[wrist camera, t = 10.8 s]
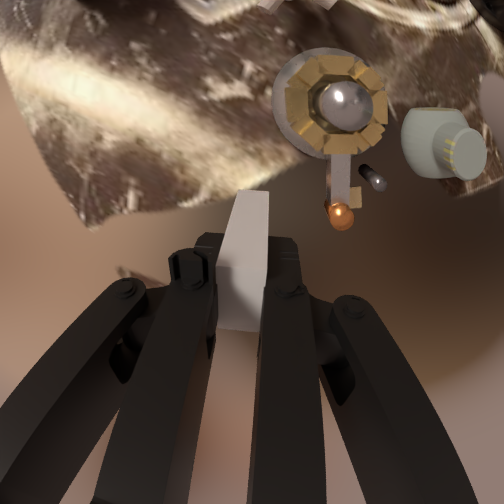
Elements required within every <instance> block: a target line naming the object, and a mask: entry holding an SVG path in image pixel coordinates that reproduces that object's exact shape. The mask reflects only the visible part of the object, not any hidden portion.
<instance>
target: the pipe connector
mask: <svg viewBox="0 0 504 504" xmlns="http://www.w3.org/2000/svg"><path fill="white" fill-rule="evenodd" d="M283 1H284V0H261V1H260V2H259V4H258V5H257V8H258V9H260V10H261V11H263V12H264V13H267V14H270V15H271V14H273V12H274V11H275V10H276V9H277V8H278V7H279V6H280V4H281V3H282V2H283ZM286 1H292V0H286ZM312 1H314V2H316V3H317V4H319V5H321V6H322V7H324V8H325V9H327V10H329V9H330V8H331V7H332V6H333V5H334V4H335V3H336V2H337V0H312Z"/></svg>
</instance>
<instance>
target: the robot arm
mask: <svg viewBox="0 0 504 504" xmlns="http://www.w3.org/2000/svg"><path fill="white" fill-rule="evenodd" d="M470 1H471V2H472V4H473V5H474V6H475V8H476V9H477V10H478V11H479V12H480V14H481V15H482V16H483V17H484V18H485V19H486V20H487V21H488V22H489V23H491V24H492V25H493V26H494V27H496V28H497V29H499V30H501V31H503V32H504V0H470ZM268 207H269V192H267V191H254V190H238V193H237V197H236V200H235V203H234V206H233V209H232V213H231V216H230V219H229V222H228V226H227V229H226V232H225V234H223V233H209V232H205V233H204V234H203V235H202V236H200V237H199V238H198V239H197V242H196V244H195V247H194V248H186V249H182V250H178V251H176V252H175V253H173V254H172V255H171V256H170V257H169V258H168V261H169V268H170V275H171V282H170V285H167V286H164V287H159V288H150V289H146V286H145V284H144V283H143V281H141V280H139V279H137V278H131V277H130V278H122V279H120V280H117V281H115V282H114V283H112V284H111V285H110V286H109V287H108V288H107V289H106V290H104V291H103V292H102V293H101V294H100V295H99V296H98V297H97V298H96V299H95V300H94V301H93V302H92V303H91V305H89V306H88V307H87V309H85V310H84V311H83V313H82V314H81V315H80V316H79V317H78V318H77V319H76V320H75V321H74V322H73V323H72V324H71V325H70V326H69V327H68V328H67V330H65V331H64V333H63V334H62V335H61V336H60V337H59V338H58V339H57V340H56V341H55V342H54V343H53V345H52V346H51V347H50V348H49V349H48V350H47V351H46V352H45V354H44V355H43V356H42V357H41V358H40V359H39V361H38V362H37V363H36V364H35V365H34V366H33V367H32V369H31V370H30V371H29V372H28V374H27V375H26V376H25V377H24V378H23V380H22V381H21V382H20V383H19V385H18V386H17V387H16V388H15V390H14V391H13V392H12V393H11V395H10V396H9V397H8V398H7V400H6V401H5V402H4V404H3V405H2V407H1V408H0V504H59V503H60V501H61V499H62V498H63V496H64V494H65V493H66V491H67V490H68V488H69V486H70V485H71V483H72V481H73V480H74V478H75V477H76V475H77V473H78V472H79V470H80V469H81V467H82V465H83V464H84V462H85V461H86V459H87V458H88V456H89V454H90V453H91V451H92V450H93V448H94V447H95V445H96V444H97V442H98V440H99V439H100V437H101V435H102V434H103V433H104V431H105V430H106V428H107V427H108V425H109V424H110V422H111V420H112V419H113V417H114V416H115V414H116V413H117V411H118V410H119V412H118V415H117V418H116V422H115V424H114V427H113V430H112V433H111V437H110V440H109V443H108V446H107V449H106V453H105V456H104V460H103V463H102V466H101V470H100V473H99V477H98V481H97V485H96V488H95V492H94V496H93V499H92V501H91V502H90V504H187V502H188V496H189V489H190V483H191V477H192V471H193V464H194V459H195V453H196V447H197V441H198V435H199V430H200V424H201V418H202V412H203V407H204V402H205V396H206V390H207V385H208V380H209V375H210V369H211V364H212V359H213V353H214V348H215V343H216V334H215V331H216V326H217V321H218V328H220V329H230V330H240V331H252V332H260V334H259V344H258V352H257V357H258V358H257V373H256V387H255V402H254V417H253V430H252V443H251V455H250V456H251V457H250V468H249V480H248V492H247V503H246V504H327V503H326V502H327V500H326V469H325V468H326V467H325V449H324V448H325V447H324V433H323V418H322V405H321V395H320V384H319V378H320V381H321V383H322V386H323V388H324V391H325V393H326V396H327V399H328V401H329V404H330V406H331V409H332V412H333V414H334V417H335V420H336V422H337V425H338V427H339V430H340V433H341V436H342V438H343V441H344V443H345V446H346V449H347V451H348V454H349V457H350V460H351V462H352V465H353V468H354V470H355V473H356V475H357V479H358V481H359V484H360V487H361V490H362V492H363V495H364V498H365V501H366V504H478V501H477V498H476V496H475V493H474V491H473V488H472V486H471V483H470V481H469V479H468V476H467V474H466V472H465V470H464V467H463V465H462V463H461V461H460V459H459V456H458V454H457V452H456V450H455V448H454V446H453V444H452V442H451V440H450V438H449V436H448V434H447V432H446V430H445V428H444V426H443V424H442V422H441V420H440V418H439V416H438V414H437V413H436V411H435V409H434V407H433V405H432V403H431V402H430V400H429V398H428V396H427V394H426V392H425V391H424V389H423V387H422V385H421V384H420V382H419V380H418V379H417V377H416V375H415V374H414V372H413V370H412V368H411V367H410V365H409V364H408V362H407V360H406V358H405V357H404V355H403V353H402V352H401V350H400V349H399V347H398V346H397V344H396V342H395V341H394V339H393V337H392V336H391V335H390V333H389V331H388V330H387V328H386V327H385V325H384V324H383V322H382V321H381V319H380V317H379V316H378V314H377V313H376V311H375V310H374V308H373V307H372V306H371V305H370V304H369V303H368V302H367V301H366V300H364V299H362V298H361V297H357V296H354V295H344V296H340V297H338V298H337V299H336V300H335V301H334V303H329V302H326V301H322V300H320V299H317V298H315V297H313V296H312V295H310V294H309V293H308V290H307V288H306V286H305V285H304V284H303V283H302V276H301V268H300V261H299V255H298V248H297V244H296V243H295V242H294V241H293V240H292V238H285V237H273V236H268V209H269V208H268ZM119 408H120V409H119Z"/></svg>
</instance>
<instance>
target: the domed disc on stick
mask: <svg viewBox="0 0 504 504" xmlns="http://www.w3.org/2000/svg"><path fill="white" fill-rule="evenodd" d="M322 76H335V77H344V78H345V79H346V80H347V81H349V82H354V83H357V84H359V85H361V86H362V87H363V88H364V89H365V90H366V91H367V92H368V93H369V95H370V96H371V99H372V102H373V115H372V117H371V119H370V121H369V122H368V124H367V125H365V126H364V127H363V128H361V129H359V130H354V131H324V130H323V129H322V128H321V127H320V126H319V125H318V124H317V123H315V122H314V121H313V120H312V119H311V118H310V117H309V108H308V94H307V91H308V90H309V89H310V88H311V87H312V86H313V85H314V84H315V83H316V82H317V81H318V80H319V79H320V78H321V77H322ZM380 79H381V77H380V76H379V75H378V74H377V73H376V72H375V71H374V70H373V69H372V68H371V67H367V66H366V65H365V64H364V63H363V62H362V61H361V60H357V61H354V57H351V56H337V55H317V56H316V57H314V59H313V58H312V57H311V58H310V59H309V60H308V61H307V62H306V63H305V64H304V65H303V66H302V67H301V68H300V69H299V70H298V71H297V72H296V73H295V74H294V75H293V76H292V77H291V78H290V79H289V80H288V81H287V82H286V83H287V84H288V85H289V86H290V87H285V88H284V96H285V107H286V120H287V121H288V122H292V123H291V124H290V125H289V126H290V127H291V128H292V129H293V130H294V131H295V132H296V133H297V134H299V135H300V136H301V137H302V138H303V139H304V140H305V141H306V142H308V143H309V144H310V145H311V146H312V147H313V148H314V149H315V150H316V151H317V152H318V151H319V150H321V152H322V153H323V154H326V163H327V164H326V165H327V166H326V170H327V171H326V172H327V191H326V193H327V194H326V200H325V202H324V208H325V210H326V213H327V215H328V217H329V219H330V222H331V224H332V226H333V227H334V228H335V229H336V230H340V231H343V230H347V229H349V228H350V227H351V226H352V225H353V223H354V214H353V212H352V211H351V209H350V207H349V196H350V162H351V154H357V150H358V149H359V150H361V151H362V152H364V151H365V150H366V149H367V148H368V147H369V146H372V147H373V146H374V145H375V144H376V143H377V142H378V141H379V140H380V139H381V138H382V136H381V133H383V132H384V131H385V129H384V127H383V126H382V125H381V124H387V123H388V108H387V91H382V90H380V89H381V88H382V87H383V86H384V84H383V83H382V82H381V81H380Z"/></svg>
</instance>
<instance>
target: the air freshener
mask: <svg viewBox="0 0 504 504" xmlns="http://www.w3.org/2000/svg"><path fill="white" fill-rule="evenodd" d="M401 146H402V150H403V154H404V156H405V159H406V161H407V163H408V164H409V166H410V167H411V169H412V170H413V171H414V172H415V173H416V174H417V175H419V176H421V177H426V178H450V177H455V176H456V177H458V178H460V179H462V180H464V181H471V180H474V179H475V178H477V177H478V176H479V175H480V174H481V172H482V171H483V169H484V167H485V164H486V159H487V151H486V145H485V143H484V139H483V138H482V136H481V135H480V133H479V132H477V131H476V130H474V129H471V128H469V126H468V123H467V121H466V119H465V118H464V116H463V115H462V114H461V112H460V111H459V110H457V109H450V108H433V107H426V108H412V109H410V111H409V112H408V113H407V115H406V117H405V119H404V122H403V125H402V129H401Z"/></svg>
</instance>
